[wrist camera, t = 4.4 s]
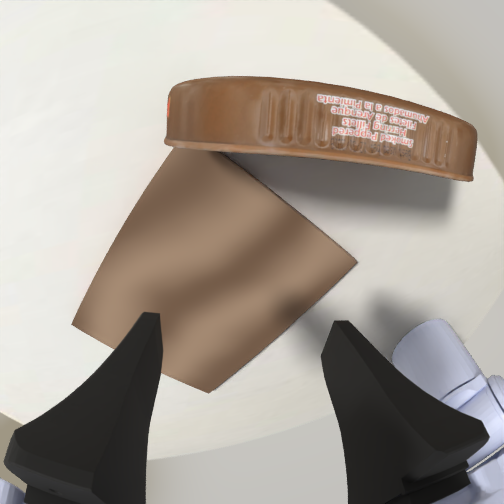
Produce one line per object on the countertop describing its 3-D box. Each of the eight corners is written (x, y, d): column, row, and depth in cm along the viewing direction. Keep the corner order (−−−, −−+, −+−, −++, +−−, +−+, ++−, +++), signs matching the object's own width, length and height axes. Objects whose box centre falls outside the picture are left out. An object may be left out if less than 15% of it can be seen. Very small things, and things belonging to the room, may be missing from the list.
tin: (179, 135, 16) (141, 172, 9) (181, 82, 15) (140, 73, 8) (414, 157, 18) (501, 204, 11) (421, 113, 16) (515, 140, 9)
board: (354, 258, 21) (357, 262, 21) (208, 388, 27) (208, 393, 27) (188, 128, 16) (186, 130, 16) (73, 319, 22) (71, 324, 22)
